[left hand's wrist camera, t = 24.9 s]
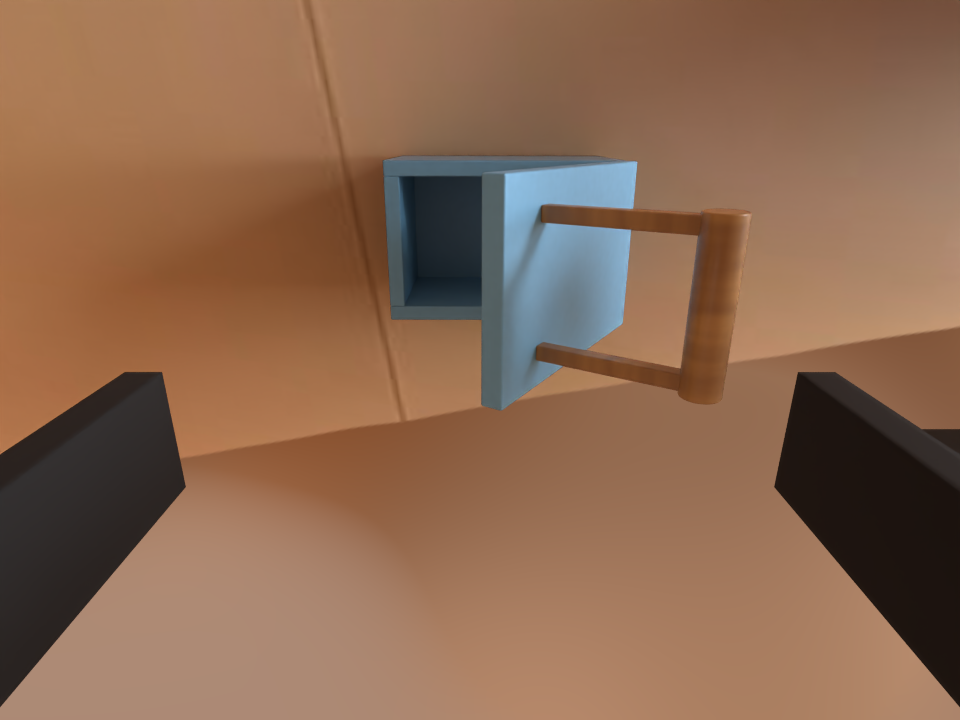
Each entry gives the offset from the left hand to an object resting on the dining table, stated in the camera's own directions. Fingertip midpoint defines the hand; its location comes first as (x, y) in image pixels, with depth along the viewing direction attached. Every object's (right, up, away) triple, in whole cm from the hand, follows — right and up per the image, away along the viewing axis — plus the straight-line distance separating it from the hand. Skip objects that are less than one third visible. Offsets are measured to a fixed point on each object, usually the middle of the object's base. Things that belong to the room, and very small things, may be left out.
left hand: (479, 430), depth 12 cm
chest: (+1, +11, +30) cm, 32 cm away
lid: (+4, +6, +16) cm, 17 cm away
